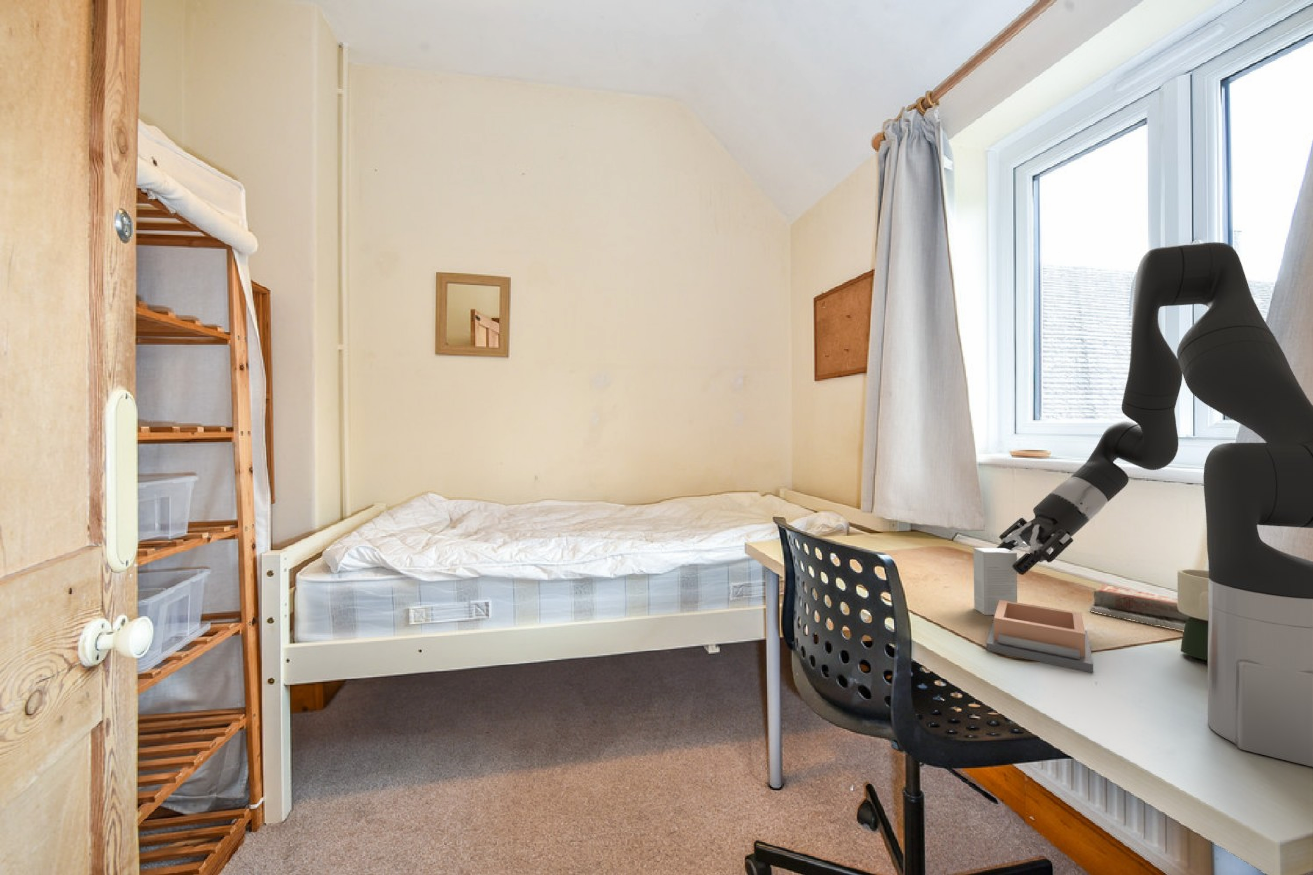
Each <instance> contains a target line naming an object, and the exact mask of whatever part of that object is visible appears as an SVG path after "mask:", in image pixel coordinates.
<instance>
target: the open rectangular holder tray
mask: <svg viewBox="0 0 1313 875" xmlns="http://www.w3.org/2000/svg"><path fill="white" fill-rule="evenodd" d="M1091 650H1092V649H1091V645H1090V639H1089V634H1088V630H1085V624H1084V619H1083V613H1082V612H1079V611H1074V610H1066V609H1061V608H1054V607H1047V606H1040V605H1035V604H1028V603H1022V602H1018V601H1017V602H1010V601H1004V600H999V603H998V606H997V610H996V613H995V615H993V621H992V625H991V628H990V631H989V635H988V638H987V641H986V651H987V652H992V653H997V654H1001V655H1006V656H1012V657H1016V658H1021V659H1024V660H1025V659H1026V660H1029V661H1034V662H1035V661H1036V662H1040V663H1043V664H1044V663H1045V664H1049V665H1055V666H1059V667H1065V668H1070V669H1074V670H1078V671H1083V672H1087V673H1091V674H1093V673H1094V662H1093V654H1092V651H1091Z"/></svg>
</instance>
